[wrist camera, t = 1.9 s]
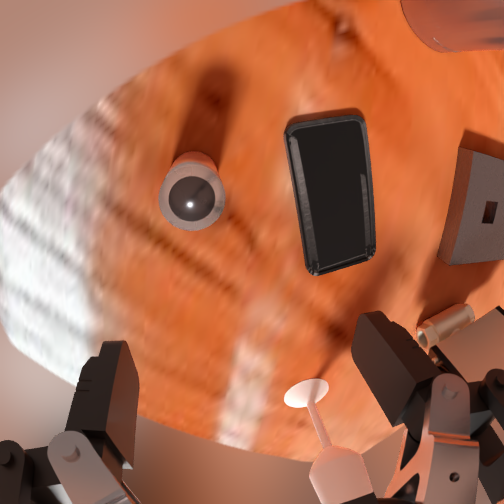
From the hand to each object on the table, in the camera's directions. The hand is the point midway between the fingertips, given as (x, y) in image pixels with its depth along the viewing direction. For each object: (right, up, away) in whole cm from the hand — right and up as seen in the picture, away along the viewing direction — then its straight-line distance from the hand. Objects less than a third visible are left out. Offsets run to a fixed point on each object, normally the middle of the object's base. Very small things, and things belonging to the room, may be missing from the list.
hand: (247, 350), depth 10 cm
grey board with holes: (+36, +10, +23) cm, 43 cm away
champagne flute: (+8, -17, +30) cm, 35 cm away
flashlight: (-5, +10, +15) cm, 19 cm away
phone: (+8, +9, +19) cm, 22 cm away
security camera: (+28, -7, +29) cm, 41 cm away
